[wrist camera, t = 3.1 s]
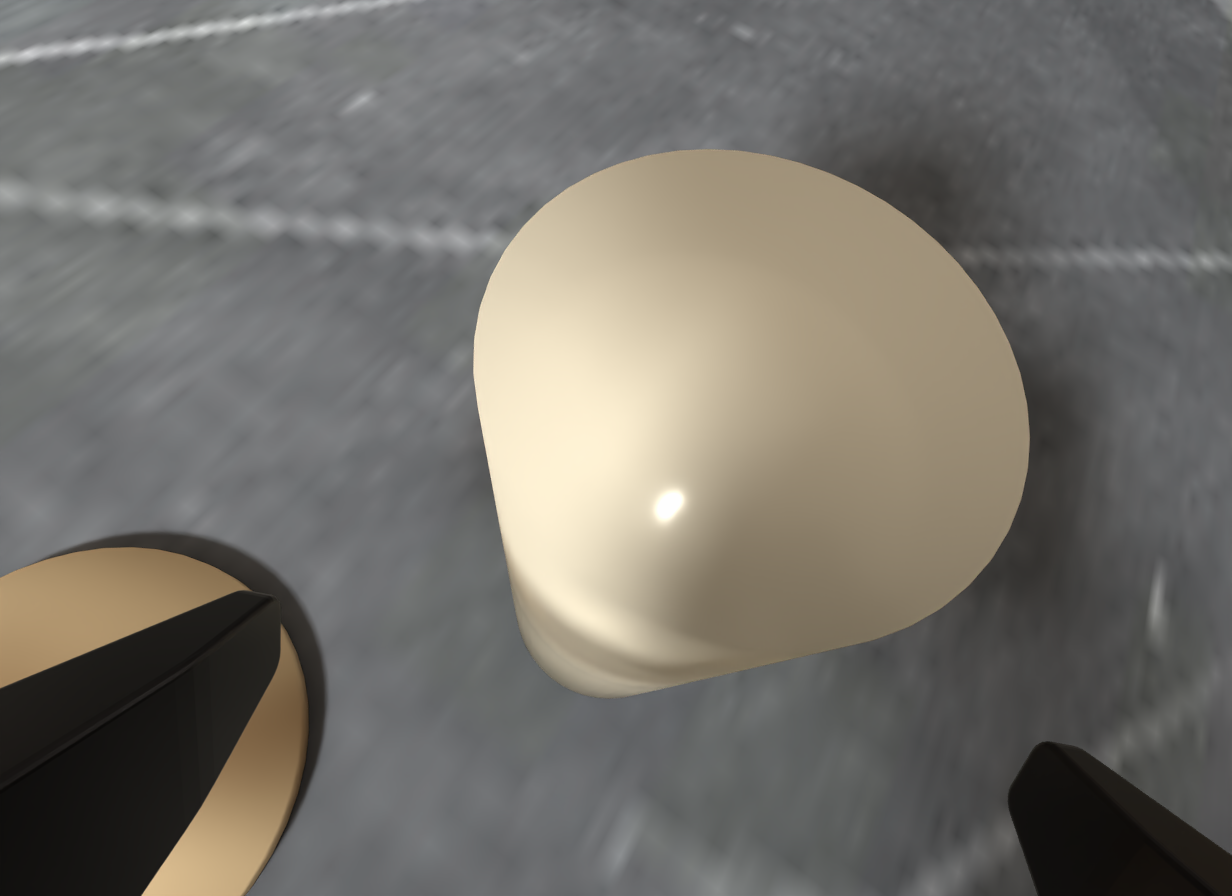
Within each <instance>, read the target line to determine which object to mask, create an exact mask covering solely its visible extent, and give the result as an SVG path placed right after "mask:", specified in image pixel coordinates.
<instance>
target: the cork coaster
mask: <svg viewBox="0 0 1232 896" xmlns="http://www.w3.org/2000/svg"><path fill="white" fill-rule="evenodd" d="M239 590H248V591H252V590H251V589H249V588H248V587H247V586H245V585H244V584H243V583H242V582H240V581H239V580H237V579H235V578H234V577H232V576H230V575H228V574H226V573H225V572H223V571H221V570H219V569H217V568H215V567H213V566H211V565H209V564H206V563H204V562H201V561H198V560H195V559H193V558H190V557H187V556H185V555H181V554H176V553H172V552H167V551H163V550H157V549H146V548H135V547H123V548H101V549H94V550H87V551H81V552H74V553H70V554H66V555H62V556H58V557H55V558H51V559H47V560H44V561H41V562H38V563H35V564H33V565H30V566H27V567H24V568H21V569H19V570H16V571H14V572H12V573H10V574H7V575H5V576H3V577H1V578H0V688H2V687H4V686H7V685H9V684H11V683H14V682H16V681H19V680H21V679H24V678H26V677H28V676H31V675H33V674H36V673H38V672H41V671H43V670H45V669H48V668H50V667H53V666H55V665H58V664H60V663H62V662H65V661H67V660H70V659H72V658H75V657H77V656H79V655H82V654H84V653H87V652H89V651H92V650H94V649H96V648H99V647H101V646H104V645H106V644H109V643H111V642H114V641H116V640H118V639H121V638H123V637H126V636H128V635H131V634H133V633H135V632H138V631H140V630H143V629H145V628H148V627H150V626H152V625H155V624H157V623H160V622H162V621H165V620H167V619H169V618H172V617H174V616H177V615H179V614H182V613H184V612H186V611H189V610H191V609H194V608H196V607H199V606H201V605H203V604H206V603H208V602H211V601H213V600H216V599H218V598H220V597H223V596H225V595H228V594H230V593H233V592H236V591H239ZM308 736H309V704H308V697H307V691H306V684H305V678H304V674H303V671H302V668H301V664H300V661H299V658H298V654H297V652H296V650H295V648H294V645H293V643H292V641H291V639H290V637H289V635H288V633H287V631H286V629H285V628H284V626H283V625H282V624H281V654H280V660H279V664H278V667H277V670H276V672H275V675H274V677H273V679H272V680H271V682H270V684H269V686H268V688H267V689H266V691H265V693H264V695H263V697H262V699H261V700H260V702H259V704H258V706H257V708H256V709H255V711H254V713H253V715H252V717H251V719H250V720H249V722H248V724H247V726H246V728H245V729H244V731H243V733H242V735H241V737H240V739H239V740H238V742H237V744H236V746H235V748H234V750H233V751H232V753H231V755H230V757H229V759H228V760H227V762H226V764H225V766H224V768H223V770H222V771H221V773H220V775H219V777H218V779H217V780H216V782H215V784H214V786H213V788H212V789H211V791H210V793H209V794H208V796H207V798H206V800H205V801H204V803H203V805H202V807H201V808H200V810H199V811H198V813H197V814H196V816H195V817H194V819H193V820H192V822H191V823H190V825H189V827H188V828H187V830H186V831H185V833H184V834H183V836H182V837H181V838H180V840H179V841H178V843H177V844H176V846H175V847H174V849H173V850H172V852H171V853H170V855H169V856H168V858H167V859H166V860H165V862H164V863H163V865H162V866H161V868H160V869H159V871H158V872H157V874H156V875H155V877H154V878H153V879H152V881H151V882H150V884H149V885H148V887H147V888H146V890H145V891H144V893H143V894H142V896H245V895H246V894H247V892H248V891H249V890H250V889H251V887H252V886H253V885H254V883H255V881H256V880H257V878H258V876H259V875H260V873H261V872H262V870H263V868H264V867H265V865H266V864H267V862H268V860H269V859H270V857H271V855H272V854H273V852H274V850H275V847H276V845H277V843H278V841H279V839H280V837H281V835H282V833H283V831H284V829H285V827H286V825H287V822H288V820H289V817H290V814H291V811H292V809H293V806H294V803H295V800H296V797H297V795H298V792H299V787H300V783H301V779H302V775H303V770H304V766H305V762H306V753H307V745H308Z"/></svg>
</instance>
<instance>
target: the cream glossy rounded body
mask: <svg viewBox="0 0 1232 896" xmlns="http://www.w3.org/2000/svg"><path fill="white" fill-rule="evenodd" d="M473 373H474V380H475V388H476V396H477V404H478V411H479V416H480V421H481V427H482V432H483V438H484V443H485V449H486V454H487V459H488V465H489V470H490V476H491V481H492V487H493V492H494V497H495V503H496V508H497V514H498V519H499V525H500V530H501V535H502V541H503V546H504V552H505V557H506V563H507V568H508V573H509V579H510V584H511V590H512V595H513V601H514V606H515V611H516V617H517V622H518V626H519V630H520V633H521V636H522V639H523V641H524V643H525V646H526V648H527V649H528V651H529V653H530V654H531V656H532V658H533V659H534V660H535V662H536V663H537V664H538V665H539V667H540V668H541V669H542V670H543V671H544V672H545V673H546V674H547V675H548V676H549V677H551V678H552V679H553V680H555V681H556V682H557V683H559V684H560V685H562V686H564V687H566V688H568V689H569V690H571V691H574V692H577V693H579V694H582V695H586V696H590V697H595V698H605V699H613V698H623V697H628V696H633V695H637V694H642V693H646V692H650V691H655V690H659V689H663V688H668V687H672V686H677V685H681V684H685V683H690V682H694V681H698V680H703V679H707V678H711V677H716V676H720V675H724V674H729V673H733V672H737V671H742V670H746V669H750V668H755V667H759V666H764V665H768V664H772V663H777V662H781V661H785V660H790V659H794V658H798V657H803V656H807V655H811V654H816V653H820V652H824V651H829V650H833V649H838V648H842V647H846V646H851V645H855V644H859V643H864V642H868V641H872V640H875V639H878V638H881V637H883V636H886V635H888V634H891V633H894V632H896V631H899V630H902V629H904V628H907V627H910V626H911V625H913V624H915V623H916V622H918V621H920V620H922V619H923V618H925V617H927V616H929V615H930V614H932V613H934V612H936V611H937V610H939V609H941V608H942V607H943V606H945V605H946V604H947V603H948V602H950V601H951V600H952V599H953V598H954V597H956V596H957V595H958V594H959V593H960V592H962V591H963V590H964V589H965V588H967V587H968V586H969V585H970V584H971V583H972V582H973V580H974V579H975V578H976V577H977V576H978V575H979V573H980V572H981V571H982V570H983V569H984V568H985V566H986V565H987V564H988V563H989V562H990V561H991V559H992V558H993V556H994V555H995V553H996V551H997V550H998V548H999V546H1000V545H1001V543H1002V541H1003V540H1004V538H1005V536H1006V535H1007V533H1008V531H1009V529H1010V527H1011V524H1012V522H1013V519H1014V517H1015V514H1016V512H1017V509H1018V507H1019V504H1020V501H1021V498H1022V493H1023V489H1024V484H1025V480H1026V475H1027V470H1028V459H1029V443H1030V432H1029V420H1028V408H1027V401H1026V397H1025V392H1024V388H1023V383H1022V379H1021V374H1020V371H1019V368H1018V366H1017V363H1016V360H1015V357H1014V354H1013V352H1012V349H1011V346H1010V343H1009V341H1008V339H1007V337H1006V335H1005V333H1004V331H1003V329H1002V327H1001V325H1000V323H999V321H998V319H997V317H996V315H995V314H994V312H993V310H992V309H991V307H990V306H989V304H988V303H987V301H986V300H985V298H984V296H983V295H982V293H981V292H980V290H979V289H978V287H977V286H976V285H975V284H974V282H973V281H972V280H971V279H970V277H969V276H968V275H967V274H966V272H965V271H964V270H963V269H962V267H961V266H960V265H959V264H958V262H957V261H956V260H955V259H954V258H953V257H952V256H951V255H950V254H949V253H948V252H947V251H946V250H945V249H944V248H943V247H942V246H941V245H940V244H939V243H938V242H937V241H936V240H935V239H934V238H932V237H931V236H930V235H929V234H928V233H927V232H925V231H924V230H923V229H922V228H921V227H919V226H918V225H917V224H916V223H915V222H914V221H912V220H911V219H910V218H908V217H907V216H905V215H904V214H902V213H901V212H900V211H898V210H897V209H895V208H894V207H892V206H891V205H889V204H888V203H887V202H885V201H883V200H882V199H880V198H878V197H876V196H875V195H873V194H871V193H869V192H867V191H866V190H864V189H862V188H860V187H859V186H857V185H854V184H852V183H850V182H848V181H846V180H843V179H841V178H839V177H837V176H835V175H832V174H830V173H828V172H825V171H822V170H819V169H816V168H813V167H810V166H807V165H805V164H802V163H799V162H794V161H790V160H786V159H782V158H778V157H774V156H770V155H764V154H757V153H751V152H744V151H734V150H714V149H703V150H683V151H673V152H667V153H661V154H654V155H648V156H645V157H641V158H637V159H634V160H630V161H626V162H623V163H619V164H617V165H614V166H612V167H609V168H607V169H604V170H602V171H600V172H597V173H595V174H592V175H591V176H589V177H587V178H585V179H583V180H582V181H580V182H578V183H576V184H574V185H573V186H571V187H569V188H567V189H566V190H565V191H563V192H562V193H561V194H559V195H558V196H557V197H555V198H554V199H552V200H551V201H550V202H548V203H547V204H546V205H544V206H543V207H542V208H541V209H540V210H539V211H538V212H537V213H536V214H535V215H534V216H533V217H532V218H531V219H530V220H529V221H528V222H527V223H526V224H525V225H524V226H523V227H522V229H521V230H520V231H519V233H518V234H517V235H516V236H515V238H514V239H513V240H512V242H511V243H510V244H509V246H508V247H507V248H506V250H505V251H504V253H503V255H502V257H501V259H500V261H499V263H498V264H497V266H496V268H495V270H494V272H493V274H492V275H491V277H490V280H489V283H488V286H487V289H486V292H485V294H484V297H483V300H482V303H481V306H480V311H479V316H478V321H477V327H476V332H475V338H474V370H473Z"/></svg>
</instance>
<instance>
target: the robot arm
mask: <svg viewBox="0 0 1232 896" xmlns="http://www.w3.org/2000/svg"><path fill="white" fill-rule="evenodd" d="M280 654H281V606H280V602H279V600H278V598H276V597H275V596H273V595H269V594H264V593H259V592H254V591H248V590H239V591H236V592H233V593H230V594H228V595H225V596H223V597H220V598H218V599H216V600H213V601H211V602H208V603H206V604H203V605H201V606H199V607H196V608H194V609H191V610H189V611H186V612H184V613H182V614H179V615H177V616H174V617H172V618H169V619H167V620H165V621H162V622H160V623H157V624H155V625H152V626H150V627H148V628H145V629H143V630H140V631H138V632H135V633H133V634H131V635H128V636H126V637H123V638H121V639H118V640H116V641H114V642H111V643H109V644H106V645H104V646H101V647H99V648H96V649H94V650H92V651H89V652H87V653H84V654H82V655H79V656H77V657H75V658H72V659H70V660H67V661H65V662H62V663H60V664H58V665H55V666H53V667H50V668H48V669H45V670H43V671H41V672H38V673H36V674H33V675H31V676H28V677H26V678H24V679H21V680H19V681H16V682H14V683H11V684H9V685H7V686H4V687H2V688H0V896H142V894H143V893H144V891H145V890H146V888H147V887H148V885H149V884H150V882H151V881H152V879H153V878H154V877H155V875H156V874H157V872H158V871H159V869H160V868H161V866H162V865H163V863H164V862H165V860H166V859H167V858H168V856H169V855H170V853H171V852H172V850H173V849H174V847H175V846H176V844H177V843H178V841H179V840H180V838H181V837H182V836H183V834H184V833H185V831H186V830H187V828H188V827H189V825H190V823H191V822H192V820H193V819H194V817H195V816H196V814H197V813H198V811H199V810H200V808H201V807H202V805H203V803H204V801H205V800H206V798H207V796H208V794H209V793H210V791H211V789H212V788H213V786H214V784H215V782H216V780H217V779H218V777H219V775H220V773H221V771H222V770H223V768H224V766H225V764H226V762H227V760H228V759H229V757H230V755H231V753H232V751H233V750H234V748H235V746H236V744H237V742H238V740H239V739H240V737H241V735H242V733H243V731H244V729H245V728H246V726H247V724H248V722H249V720H250V719H251V717H252V715H253V713H254V711H255V709H256V708H257V706H258V704H259V702H260V700H261V699H262V697H263V695H264V693H265V691H266V689H267V688H268V686H269V684H270V682H271V680H272V679H273V677H274V675H275V672H276V670H277V667H278V664H279V660H280ZM1008 806H1009V811H1010V815H1011V818H1012V821H1013V823H1014V826H1015V829H1016V832H1017V835H1018V838H1019V841H1020V844H1021V847H1022V850H1023V853H1024V856H1025V859H1026V862H1027V865H1028V868H1029V871H1030V874H1031V877H1032V880H1033V883H1034V886H1035V889H1036V892H1037V894H1038V896H1232V855H1230V854H1229V853H1228V852H1226V851H1225V850H1223V849H1222V848H1221V847H1219V846H1218V845H1216V844H1215V843H1214V842H1212V841H1211V840H1209V839H1208V838H1207V837H1205V836H1204V835H1202V834H1201V833H1200V832H1198V831H1197V830H1195V829H1194V828H1193V827H1191V826H1190V825H1188V824H1187V823H1186V822H1184V821H1183V820H1181V819H1180V818H1179V817H1177V816H1176V815H1174V814H1173V813H1171V812H1170V811H1169V810H1167V809H1166V808H1164V807H1163V806H1162V805H1160V804H1159V803H1157V802H1156V801H1155V800H1153V799H1152V798H1150V797H1149V796H1148V795H1146V794H1145V793H1143V792H1142V791H1141V790H1139V789H1138V788H1136V787H1135V786H1134V785H1132V784H1131V783H1129V782H1128V781H1127V780H1125V779H1124V778H1122V777H1121V776H1120V775H1118V774H1117V773H1115V772H1114V771H1113V770H1111V769H1110V768H1108V767H1107V766H1106V765H1104V764H1103V763H1101V762H1100V761H1098V760H1097V759H1096V758H1094V757H1093V756H1091V755H1090V754H1089V753H1087V752H1086V751H1084V750H1083V749H1080V748H1078V747H1075V746H1071V745H1066V744H1060V743H1055V742H1049V741H1046V742H1041V743H1039V744H1038V745H1036V746H1035V747H1034V748H1033V750H1032V751H1031V753H1030V755H1029V756H1028V758H1027V760H1026V761H1025V763H1024V765H1023V766H1022V768H1021V770H1020V771H1019V773H1018V775H1017V776H1016V778H1015V780H1014V781H1013V783H1012V785H1011V787H1010V789H1009V793H1008Z"/></svg>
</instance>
